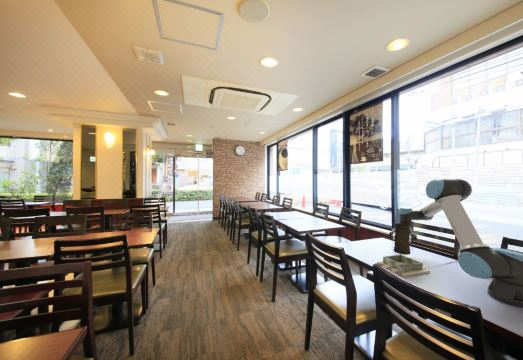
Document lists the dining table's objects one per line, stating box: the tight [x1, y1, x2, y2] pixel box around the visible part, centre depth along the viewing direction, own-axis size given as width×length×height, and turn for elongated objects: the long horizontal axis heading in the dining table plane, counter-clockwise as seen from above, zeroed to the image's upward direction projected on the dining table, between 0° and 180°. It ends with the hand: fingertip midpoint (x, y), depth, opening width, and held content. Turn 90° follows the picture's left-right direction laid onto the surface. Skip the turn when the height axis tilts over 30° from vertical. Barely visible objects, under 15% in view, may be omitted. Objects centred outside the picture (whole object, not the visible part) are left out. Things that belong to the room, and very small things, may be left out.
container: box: [393, 223, 412, 256], centre depth 136 cm, size 9×9×18 cm
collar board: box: [376, 254, 431, 278], centre depth 136 cm, size 20×20×6 cm
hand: (401, 238), depth 132 cm, fingers closed on container, 8 cm apart
